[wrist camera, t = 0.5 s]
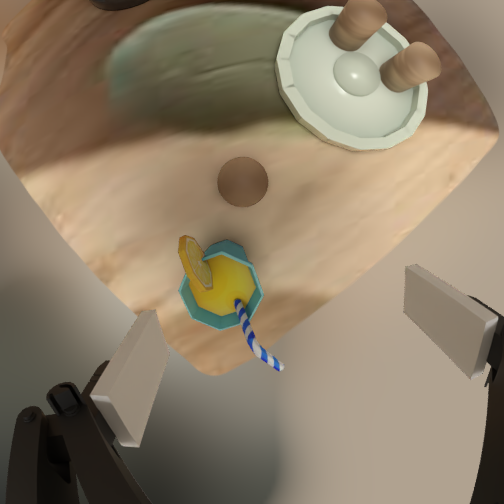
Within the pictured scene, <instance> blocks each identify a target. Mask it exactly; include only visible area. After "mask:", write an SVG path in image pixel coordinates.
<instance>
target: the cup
mask: <svg viewBox="0 0 504 504" xmlns="http://www.w3.org/2000/svg"><path fill="white" fill-rule="evenodd" d="M178 253H179V256H180V259H181V261H182V264H183V267H184V269H185V272H186V274H185V276H184V278H183V281H182V283H181V286H180V288H179V290H178V291H179V293H180V295H181V298H182V300H183V302H184V304H185V306H186V308H187V310H188V313H189V315H190V317H191V319H194V320H196V321H198V322H201V323H203V324H205V325H208V326H210V327H213V328H215V329H217V330H220V331H221V330H224V329H227V328H230V327H234V326H237V325H240V324H241V326H242V329H243V332H244V335H245V337H246V340H247V343H248V345H249V346H250V348H251V349H252V351H253V352H254V354H255V355H256V356H258V357H259V358H260V359H262V360H263V361H265V362H266V363H268V364H269V365H270V366H272V367H273V368H275V369H276V370H278V371H282V370H283V369H284V364H283V363H281V362H280V361H279V360H277V359H276V358H275V357H274V356H272V355H271V354H270V353H268V352H267V351H266V350H265V349H263V348H262V347H261V345H260V344H259V343H258V341H257V340H256V338H255V335H254V333H253V330H252V328H251V325H250V322H249V321H250V320H251V318H252V316H253V315H254V313H255V311H256V309H257V307H258V305H259V303H260V302H261V300H262V298H263V296H264V293H263V291H262V288H261V285H260V283H259V280H258V277H257V274H256V272H255V269H254V266H253V264H252V263H251V262H248V259H247V257H246V254H245V252H244V249H243V247H242V246H240V245H238V244H236V243H234V242H232V241H230V240H224V241H221V242H218V243H216V244H213V245H211V246H210V247H209V248H208V249H207V250H206V251H205V252H203V251H202V249H201V248H200V247H199V245H198V244H197V242H196V241H195V239H194V238H192V237H189V236H187V235H184V236H182V237H180V238H179V248H178Z"/></svg>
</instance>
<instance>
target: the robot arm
mask: <svg viewBox="0 0 504 504" xmlns="http://www.w3.org/2000/svg"><path fill="white" fill-rule="evenodd" d="M90 1H91V3H92V4H93V5H95V6H96V7H98V8H100V9H104V10H120V9H126V8H130V7H133V6H136V5H139V4H141V3H144V2H146V1H148V0H90ZM403 312H404V313H405V314H406V315H407V316H408V317H409V318H410V319H411V320H412V321H413V322H414V323H415V324H416V325H417V326H418V327H419V328H420V329H421V330H422V331H423V332H424V333H425V334H426V335H427V336H428V337H429V338H430V339H431V340H432V341H433V342H434V343H435V344H436V345H437V346H438V347H439V348H440V349H441V350H442V351H443V352H444V353H445V354H446V355H447V356H448V357H449V358H450V359H451V360H452V361H453V362H454V363H455V364H456V365H457V366H458V367H459V368H460V369H461V370H462V372H463V373H465V375H466V376H467V377H468V378H469V379H470V380H471V379H473V378H475V377H477V376H479V375H481V374H483V372H484V368H485V365H486V362H488V363H489V364H490V365H491V368H490V372H489V374H488V377H487V380H486V383H485V386H484V387H486V386H487V384H488V383H489V391H488V407H487V418H486V419H487V420H486V428H485V435H484V442H483V448H482V454H481V460H480V465H479V470H478V474H477V479H476V483H475V487H474V491H473V494H472V498H471V502H470V504H504V317H503V316H502V315H501V314H499V313H498V312H496V311H495V310H493V309H492V308H490V307H488V306H487V305H485V304H483V303H482V302H481V301H480V300H478V299H477V298H474V297H471V296H468V295H466V294H464V293H462V292H461V291H459V290H458V289H456V288H455V287H453V286H452V285H450V284H448V283H447V282H445V281H443V280H442V279H440V278H439V277H437V276H436V275H434V274H432V273H431V272H429V271H427V270H426V269H424V268H422V267H420V266H419V265H417V264H415V265H410V266H406V267H405V293H404V311H403ZM169 356H170V352H169V349H168V347H167V344H166V341H165V338H164V335H163V332H162V329H161V326H160V322H159V319H158V316H157V313H156V310H146V311H142V312H141V313H140V315H139V316H138V318H137V319H136V321H135V322H134V324H133V326H132V327H131V329H130V330H129V332H128V333H127V335H126V337H125V338H124V340H123V341H122V343H121V344H120V346H119V348H118V349H117V351H116V352H115V354H114V356H113V357H112V359H111V360H110V361H105V362H104V363H103V364H101V365H100V366H99V367H98V368H97V370H96V371H95V373H94V374H93V375H94V376H92V377H91V379H90V382H88V384H87V385H86V387H85V389H84V390H83V392H82V394H80V392H79V390H78V389H77V387H76V385H74V383H71V382H64V383H60V384H58V385H56V386H54V387H53V388H52V389H51V390H49V392H48V394H47V397H46V399H47V401H48V403H49V404H50V406H51V407H52V409H53V410H54V412H55V413H56V414H52V415H44V413H43V412H42V410H41V409H40V408H39V407H36V406H30V407H28V408H25V409H23V410H22V411H21V413H19V415H18V417H17V419H16V424H15V429H14V434H13V440H12V446H11V452H10V460H9V468H8V476H7V488H6V504H80V502H79V495H78V488H77V479H76V474H77V477H78V479H79V482H80V484H81V486H82V488H83V491H84V493H85V496H86V498H87V500H88V502H89V504H152V503H151V501H150V500H149V499H148V498H147V496H146V495H145V493H144V492H143V490H142V489H141V487H140V486H139V485H138V483H137V482H136V480H135V479H134V477H133V476H132V474H131V472H130V471H129V469H128V468H127V466H126V464H125V463H124V461H123V460H122V458H121V456H120V455H119V453H118V451H117V449H116V448H115V447H114V445H113V441H114V439H115V437H116V438H117V440H118V441H119V442H120V444H121V445H122V446H130V447H139V446H140V442H141V439H142V436H143V433H144V430H145V427H146V423H147V420H148V417H149V414H150V411H151V408H152V405H153V402H154V399H155V396H156V393H157V390H158V387H159V384H160V381H161V379H162V375H163V373H164V370H165V367H166V364H167V361H168V358H169Z"/></svg>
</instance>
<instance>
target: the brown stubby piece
mask: <svg viewBox="0 0 504 504" xmlns="http://www.w3.org/2000/svg"><path fill="white" fill-rule="evenodd" d="M267 188H268V176H267V173H266V171H265V169H264V168H263V166H262V165H261V164H260V163H259V162H257V161H256V160H254V159H251V158H247V157H238V158H235V159H232V160H230V161H229V162H227V163H226V164H225V165H224V166H223V167H222V169H221V170H220V173H219V175H218V189H219V192H220V194H221V196H222V197H223V198H224V199H225V200H226V201H227V202H228V203H230V204H232V205H234V206H238V207H248V206H251V205H254V204H256V203H257V202H259V201H260V200H261V199H262V198H263V196H264V195H265V193H266V191H267Z"/></svg>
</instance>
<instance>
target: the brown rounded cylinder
mask: <svg viewBox="0 0 504 504" xmlns="http://www.w3.org/2000/svg"><path fill="white" fill-rule="evenodd" d="M386 21H387V13H386V11H385V9H384V8H383V6H382V5H381V4H380V3H379V2H377V1H376V0H349V1H348V2H347V4H346V5H345V7H344V8H343V10H342V11H341V13H340V14H339V16H338V17H337V19H336V20H335V22H334V23H333V25H332V26H331V28H330V30H329V37H330V39H331V41H332V42H333V44H334V45H335V46H337V47H338V48H340V49H342V50H344V51H356V50H358V49H359V48H360V47H361V46H362V45H363V44H364V43H365V42H366V41H367V40H368V39H369V38H370V37H371V36H372V35H373V34H374V33H376V32H377V31H378V30H379V29H380V28H381V27H382V26H383V25H384V24H385V23H386Z"/></svg>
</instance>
